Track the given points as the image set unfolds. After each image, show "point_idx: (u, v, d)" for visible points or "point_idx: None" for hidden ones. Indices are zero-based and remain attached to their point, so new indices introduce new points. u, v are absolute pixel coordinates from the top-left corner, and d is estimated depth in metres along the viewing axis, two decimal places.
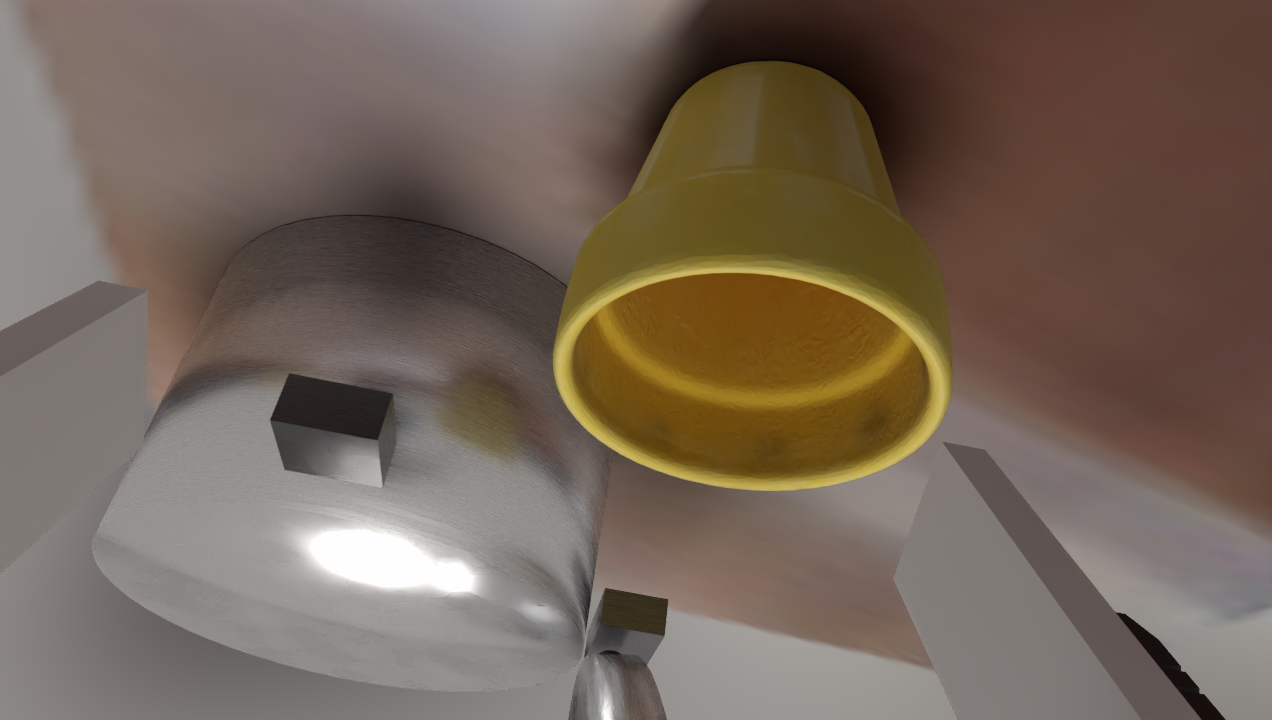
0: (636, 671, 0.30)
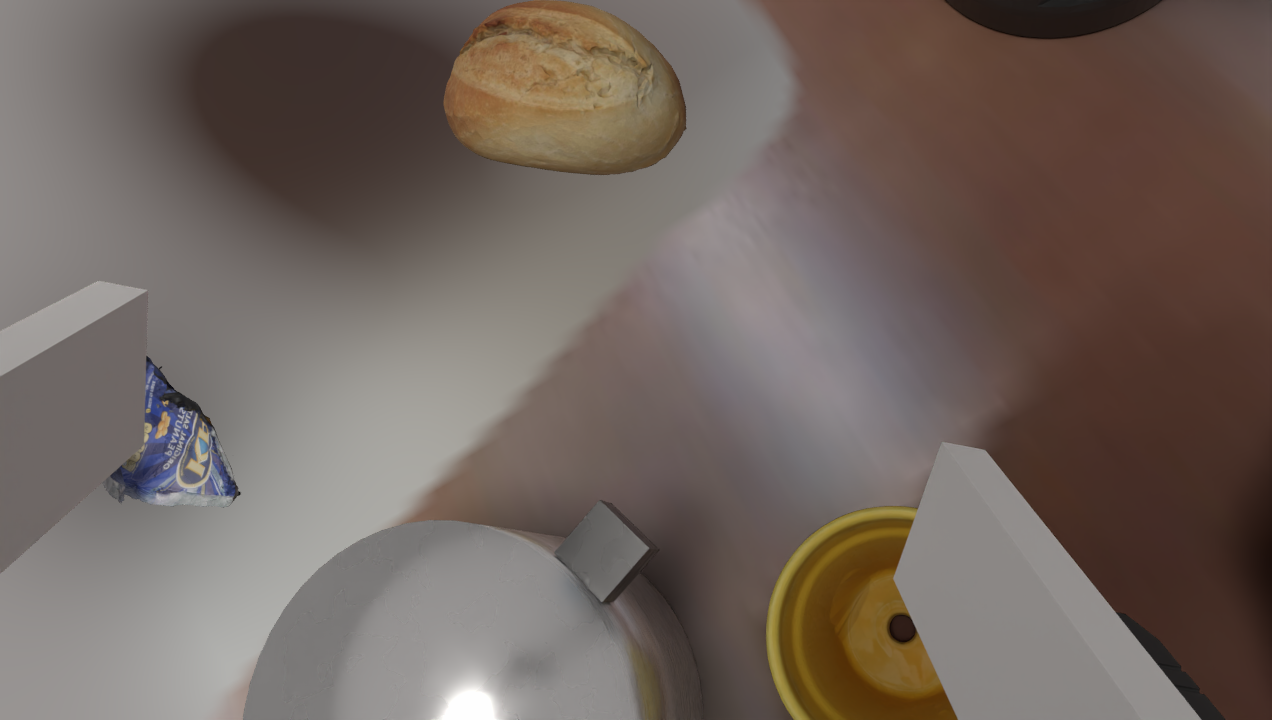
0: None
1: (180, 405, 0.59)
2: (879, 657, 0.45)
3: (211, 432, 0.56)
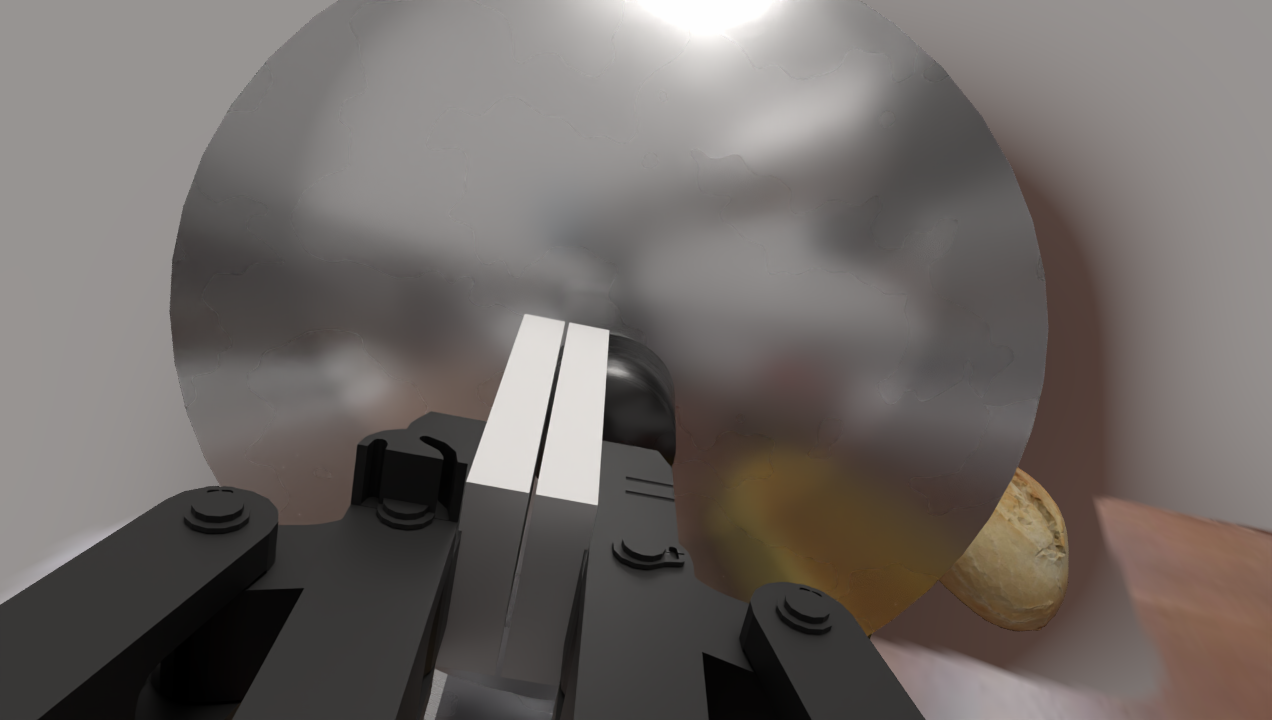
0: None
1: None
2: None
3: None
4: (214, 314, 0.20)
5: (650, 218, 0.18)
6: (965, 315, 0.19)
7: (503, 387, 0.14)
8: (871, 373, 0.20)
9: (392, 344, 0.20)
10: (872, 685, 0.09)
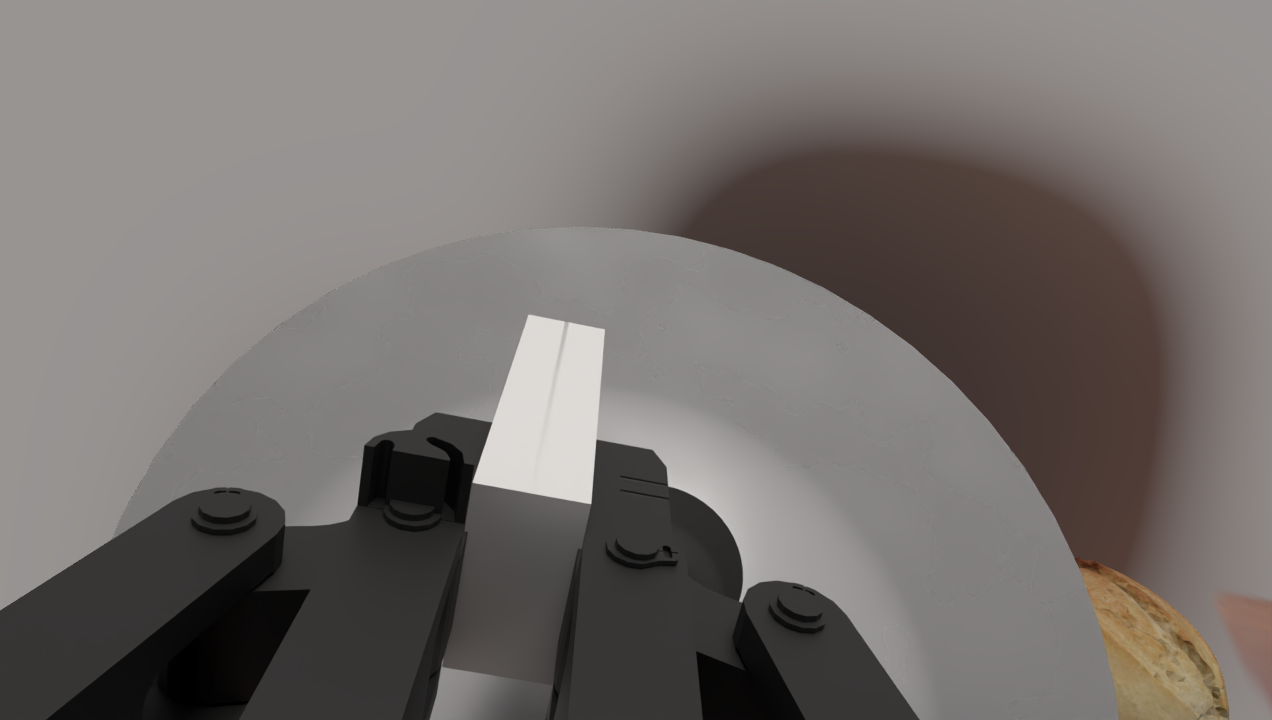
0: None
1: None
2: None
3: None
4: None
5: (663, 418, 0.20)
6: (974, 504, 0.20)
7: (508, 388, 0.14)
8: (913, 568, 0.19)
9: None
10: (866, 684, 0.09)
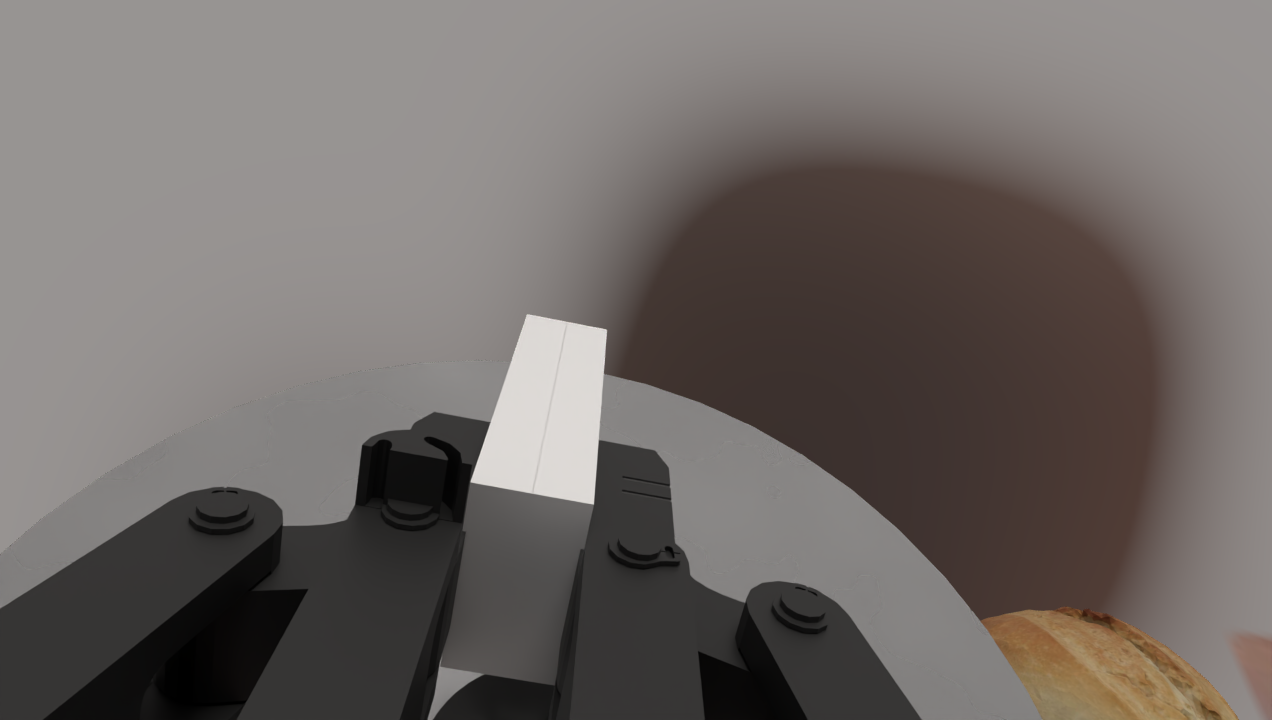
0: None
1: None
2: None
3: None
4: None
5: None
6: (933, 677, 0.17)
7: (506, 388, 0.14)
8: None
9: None
10: (868, 684, 0.09)
